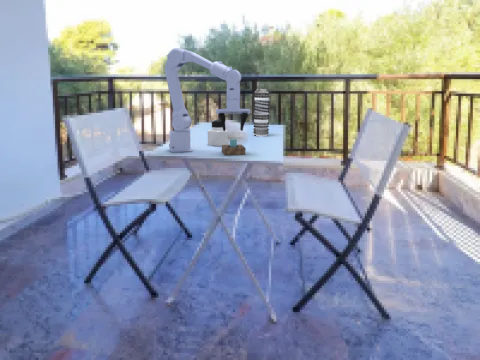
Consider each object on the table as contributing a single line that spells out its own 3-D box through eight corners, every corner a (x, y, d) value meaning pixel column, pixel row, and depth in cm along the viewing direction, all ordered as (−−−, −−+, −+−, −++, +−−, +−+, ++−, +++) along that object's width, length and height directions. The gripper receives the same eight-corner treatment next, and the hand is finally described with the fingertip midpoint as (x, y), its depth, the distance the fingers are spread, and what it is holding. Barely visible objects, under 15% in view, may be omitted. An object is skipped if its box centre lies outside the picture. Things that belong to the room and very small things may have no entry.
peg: (230, 153, 204) (230, 140, 202) (229, 152, 207) (229, 139, 205) (237, 153, 205) (237, 140, 203) (235, 152, 207) (235, 138, 206)
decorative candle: (251, 136, 254) (252, 89, 248) (253, 133, 263) (254, 88, 257) (268, 136, 253) (269, 89, 247) (270, 134, 262) (271, 88, 256)
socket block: (224, 155, 200) (224, 148, 200) (221, 151, 209) (221, 144, 208) (245, 154, 202) (245, 147, 201) (241, 151, 211) (241, 144, 210)
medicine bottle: (228, 144, 226) (228, 120, 224) (217, 146, 221) (217, 121, 218) (218, 143, 231) (218, 118, 228) (207, 144, 226) (207, 119, 223)
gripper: (217, 99, 195) (217, 132, 198) (251, 99, 198) (251, 131, 201) (215, 98, 202) (215, 129, 205) (248, 98, 204) (247, 129, 208)
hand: (232, 130), depth 203 cm, fingers open, 7 cm apart
